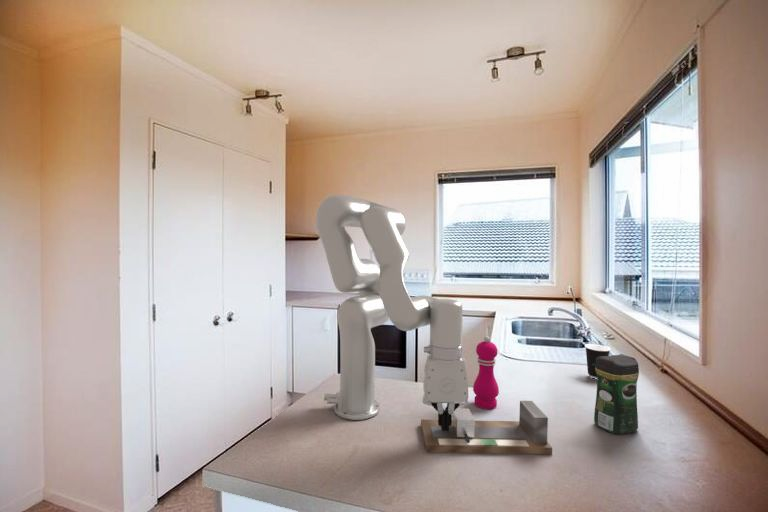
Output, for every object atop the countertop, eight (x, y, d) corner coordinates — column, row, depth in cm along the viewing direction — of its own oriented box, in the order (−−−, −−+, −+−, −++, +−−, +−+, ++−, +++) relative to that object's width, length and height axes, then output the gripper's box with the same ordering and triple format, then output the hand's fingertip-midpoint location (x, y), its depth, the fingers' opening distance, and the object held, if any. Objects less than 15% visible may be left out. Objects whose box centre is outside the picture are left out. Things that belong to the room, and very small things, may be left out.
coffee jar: (614, 417, 99) (617, 349, 98) (643, 431, 91) (646, 358, 91) (587, 422, 96) (589, 352, 95) (614, 437, 88) (617, 362, 88)
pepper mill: (499, 411, 102) (501, 340, 101) (473, 408, 103) (474, 338, 102) (497, 400, 109) (498, 334, 108) (472, 398, 110) (473, 332, 110)
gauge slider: (459, 443, 81) (459, 425, 81) (452, 424, 90) (452, 408, 90) (477, 443, 81) (477, 426, 81) (468, 424, 90) (468, 408, 90)
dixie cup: (597, 373, 134) (598, 343, 134) (615, 381, 126) (616, 349, 126) (578, 374, 132) (579, 344, 132) (595, 382, 125) (596, 350, 124)
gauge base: (426, 451, 81) (426, 418, 81) (420, 425, 93) (421, 396, 93) (552, 454, 81) (553, 421, 81) (530, 427, 93) (531, 398, 93)
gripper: (415, 356, 83) (414, 436, 83) (481, 357, 82) (480, 437, 83) (413, 347, 90) (412, 420, 91) (473, 348, 90) (472, 421, 90)
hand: (444, 428), depth 87 cm, fingers closed
